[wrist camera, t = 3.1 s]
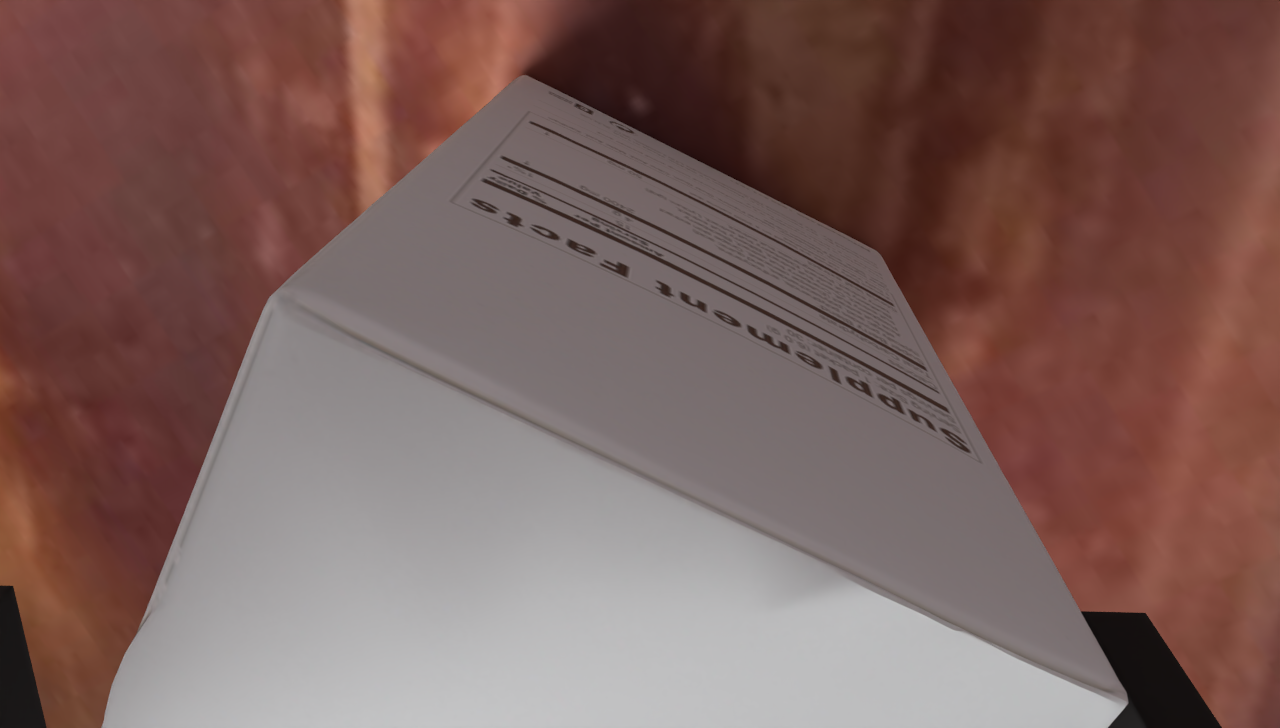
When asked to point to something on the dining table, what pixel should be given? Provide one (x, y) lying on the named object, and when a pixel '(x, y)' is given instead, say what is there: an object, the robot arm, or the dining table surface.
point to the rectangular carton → (600, 475)
